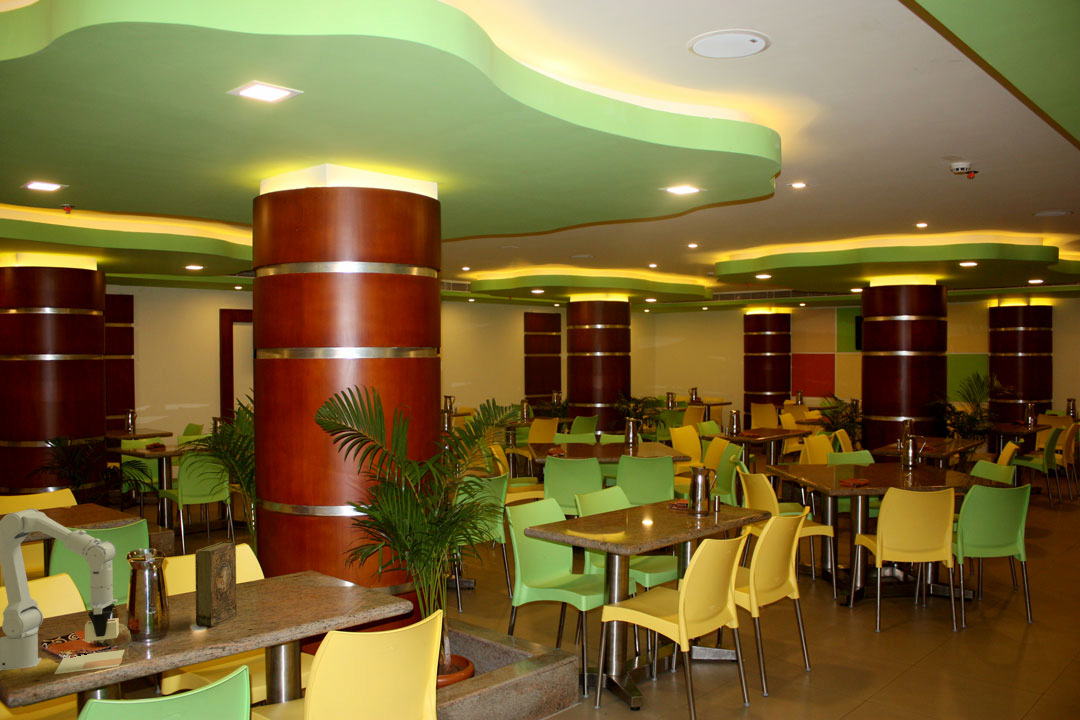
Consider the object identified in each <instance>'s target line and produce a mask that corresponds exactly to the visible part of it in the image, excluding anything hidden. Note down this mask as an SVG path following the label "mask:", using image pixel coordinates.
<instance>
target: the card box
mask: <svg viewBox="0 0 1080 720" xmlns="http://www.w3.org/2000/svg"><path fill="white" fill-rule="evenodd" d="M119 623H120V622H119V617H117V618H116V617H115V618H110V619H108V621H107V627H106V633H105V636H101V637H96V634H95V630H94V626H93V623H92V621H91V620H87V621H86V623H85V624H84V642H93V641H94V642H95V640H104V639H113V638H117V636H118V634H119Z"/></svg>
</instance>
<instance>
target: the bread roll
mask: <svg viewBox="0 0 1080 720" xmlns="http://www.w3.org/2000/svg"><path fill="white" fill-rule="evenodd" d="M131 639H132V636H131V630H130V629H129V628H128V627H127V626H126V625H125V624H123V623H120V622H119V634H118V636H117V638H113V639H104V640H94V645H95V644H96V646H97V647H111V646H112V647H113V646H118V645H119V646H120V645H123V644H126V643H128V642H130V641H131ZM101 645H103V646H101Z"/></svg>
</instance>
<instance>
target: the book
mask: <svg viewBox="0 0 1080 720" xmlns="http://www.w3.org/2000/svg"><path fill="white" fill-rule="evenodd" d="M236 544H237V542H236V541H220V542H216V543H214V544H211V545H209V546H205V547H203V548H199V549H196V551H195V554H194V555H195V556H194V559H195V562H194V563H195V570H194V571H195V624H196V627H211V628H213V627H216V626H218V625H221V624H222V623H224V622H227V621H228V620H230V619H232V618H234V617H237V616H236V615H238V614H237V613H238V612H237V611H238V610H237V608H238V607H237V562H236V561H237V549H236V548H237V547H236V546H237V545H236Z"/></svg>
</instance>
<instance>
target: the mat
mask: <svg viewBox="0 0 1080 720" xmlns="http://www.w3.org/2000/svg"><path fill="white" fill-rule="evenodd" d="M124 653H125V649H119V650H111V651H103V652H94V653H93V652H92V653H86V654H87V655H84V654H80V655H81V656H76V655H75V656H76V657H73V658H64V657H63V658H62V660H61V662H60V663H59V664H58V667H57V668H56V670H55V672H54V675H59V674H64V673H65V674H67V673H75V672H82V671H90V670H97V669H98V670H99V669H107V668H117V667H119V666H120V665H121V664H122V661H123V659H124V658H123V656H124Z"/></svg>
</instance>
